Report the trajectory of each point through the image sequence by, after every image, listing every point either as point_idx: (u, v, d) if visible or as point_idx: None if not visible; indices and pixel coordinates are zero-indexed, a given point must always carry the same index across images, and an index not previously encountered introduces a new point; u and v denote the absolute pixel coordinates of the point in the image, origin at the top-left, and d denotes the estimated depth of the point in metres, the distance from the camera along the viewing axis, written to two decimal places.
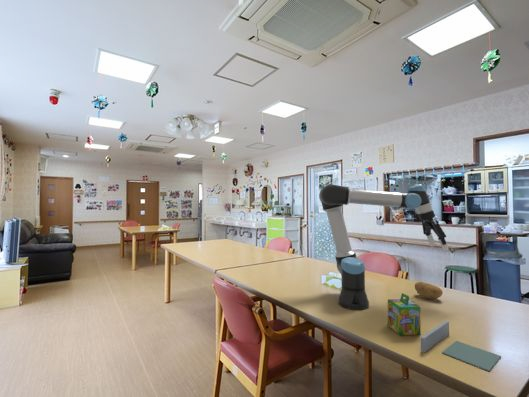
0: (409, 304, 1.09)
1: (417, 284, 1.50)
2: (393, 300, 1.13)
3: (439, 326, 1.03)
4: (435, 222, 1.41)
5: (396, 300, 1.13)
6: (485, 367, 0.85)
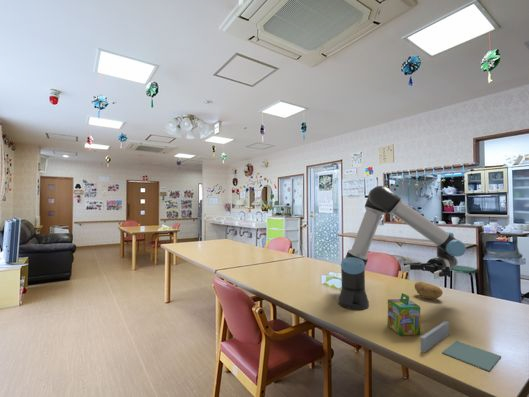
0: (409, 304, 1.09)
1: (417, 284, 1.50)
2: (393, 300, 1.13)
3: (439, 326, 1.03)
4: None
5: (396, 300, 1.13)
6: (485, 367, 0.85)
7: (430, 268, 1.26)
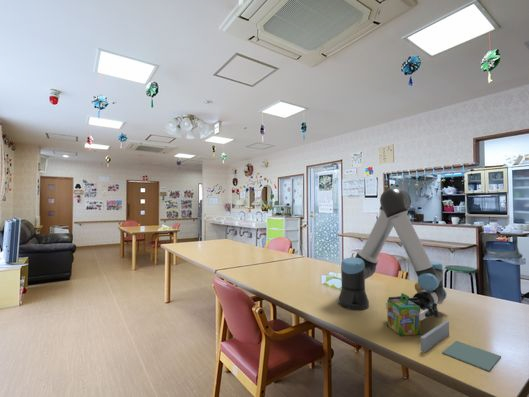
0: (409, 304, 1.09)
1: (417, 284, 1.50)
2: (393, 300, 1.13)
3: (439, 326, 1.03)
4: (436, 307, 1.13)
5: (396, 300, 1.13)
6: (485, 367, 0.85)
7: None
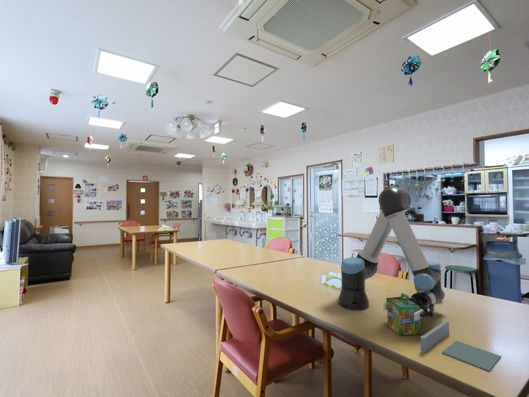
0: (409, 304, 1.09)
1: None
2: (393, 300, 1.13)
3: (439, 326, 1.03)
4: (433, 308, 1.12)
5: (396, 300, 1.13)
6: (485, 367, 0.85)
7: None
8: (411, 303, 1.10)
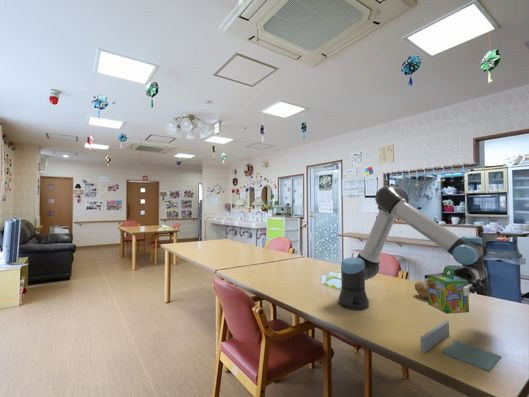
0: (455, 278, 0.97)
1: (417, 284, 1.50)
2: (435, 275, 1.01)
3: (439, 326, 1.03)
4: None
5: (438, 275, 1.01)
6: (485, 367, 0.85)
7: None
8: (457, 278, 0.97)
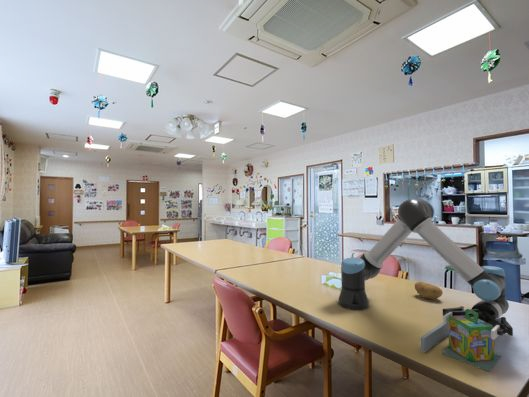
0: (479, 323, 0.91)
1: (417, 284, 1.50)
2: (456, 317, 0.95)
3: (439, 326, 1.03)
4: None
5: (460, 317, 0.95)
6: (485, 367, 0.85)
7: (479, 318, 0.97)
8: (481, 321, 0.91)
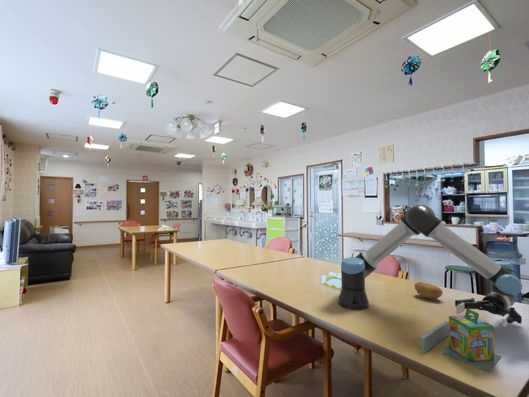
0: (479, 323, 0.91)
1: (417, 284, 1.50)
2: (456, 317, 0.95)
3: (439, 326, 1.03)
4: None
5: (460, 317, 0.95)
6: (485, 367, 0.85)
7: (490, 308, 1.05)
8: (481, 321, 0.91)
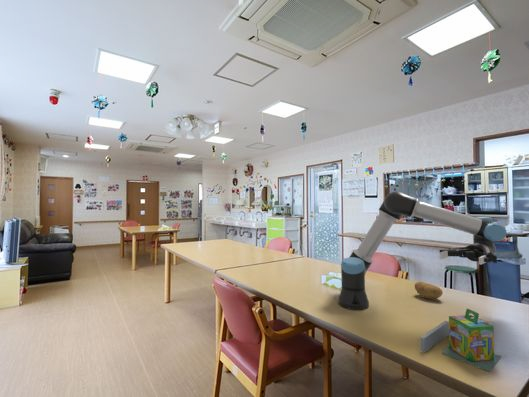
0: (479, 323, 0.91)
1: (417, 284, 1.50)
2: (456, 317, 0.95)
3: (439, 326, 1.03)
4: None
5: (460, 317, 0.95)
6: (485, 367, 0.85)
7: (470, 254, 1.16)
8: (481, 321, 0.91)
